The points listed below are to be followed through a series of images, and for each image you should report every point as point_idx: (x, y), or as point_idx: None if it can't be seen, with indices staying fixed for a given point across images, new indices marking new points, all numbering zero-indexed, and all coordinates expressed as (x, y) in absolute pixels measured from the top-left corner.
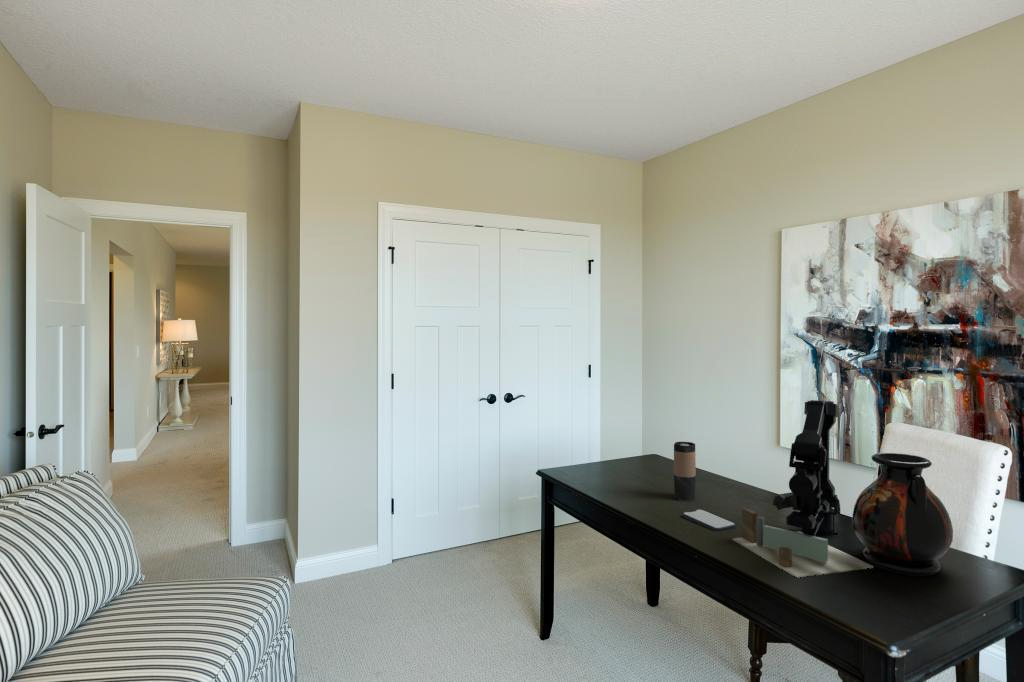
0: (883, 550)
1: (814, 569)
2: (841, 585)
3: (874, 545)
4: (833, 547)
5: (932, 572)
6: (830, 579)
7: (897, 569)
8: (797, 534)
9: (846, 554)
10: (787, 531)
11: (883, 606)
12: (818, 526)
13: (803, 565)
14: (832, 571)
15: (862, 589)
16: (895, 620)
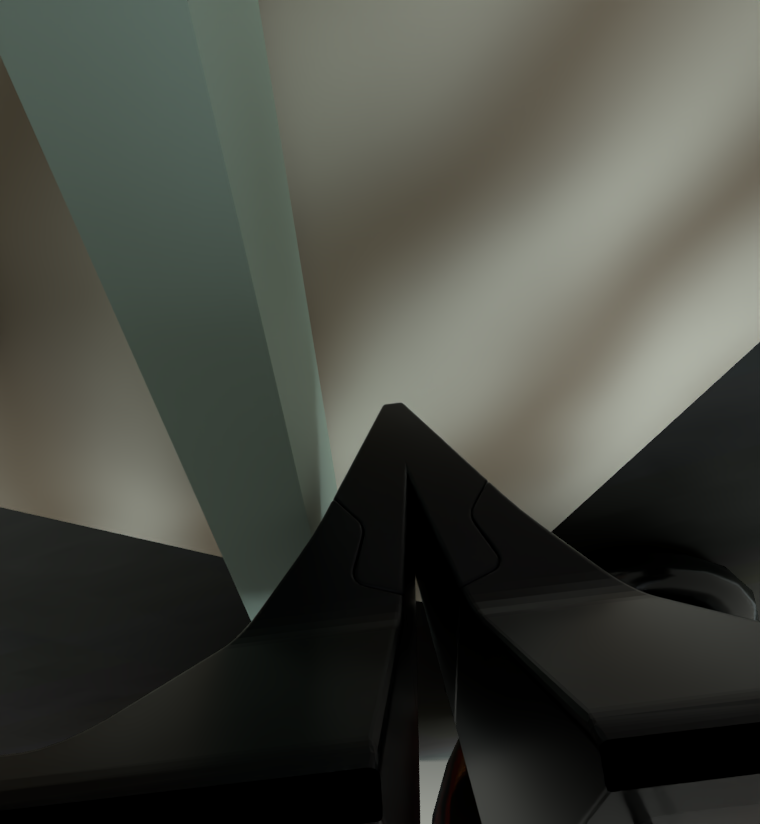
0: (448, 775)
1: (120, 487)
2: (92, 610)
3: (457, 783)
4: (678, 412)
5: None
6: (106, 564)
7: (444, 686)
8: (185, 455)
9: (570, 501)
10: (122, 260)
11: (76, 715)
12: (458, 730)
13: (102, 417)
14: (207, 550)
15: (152, 653)
16: (10, 748)
